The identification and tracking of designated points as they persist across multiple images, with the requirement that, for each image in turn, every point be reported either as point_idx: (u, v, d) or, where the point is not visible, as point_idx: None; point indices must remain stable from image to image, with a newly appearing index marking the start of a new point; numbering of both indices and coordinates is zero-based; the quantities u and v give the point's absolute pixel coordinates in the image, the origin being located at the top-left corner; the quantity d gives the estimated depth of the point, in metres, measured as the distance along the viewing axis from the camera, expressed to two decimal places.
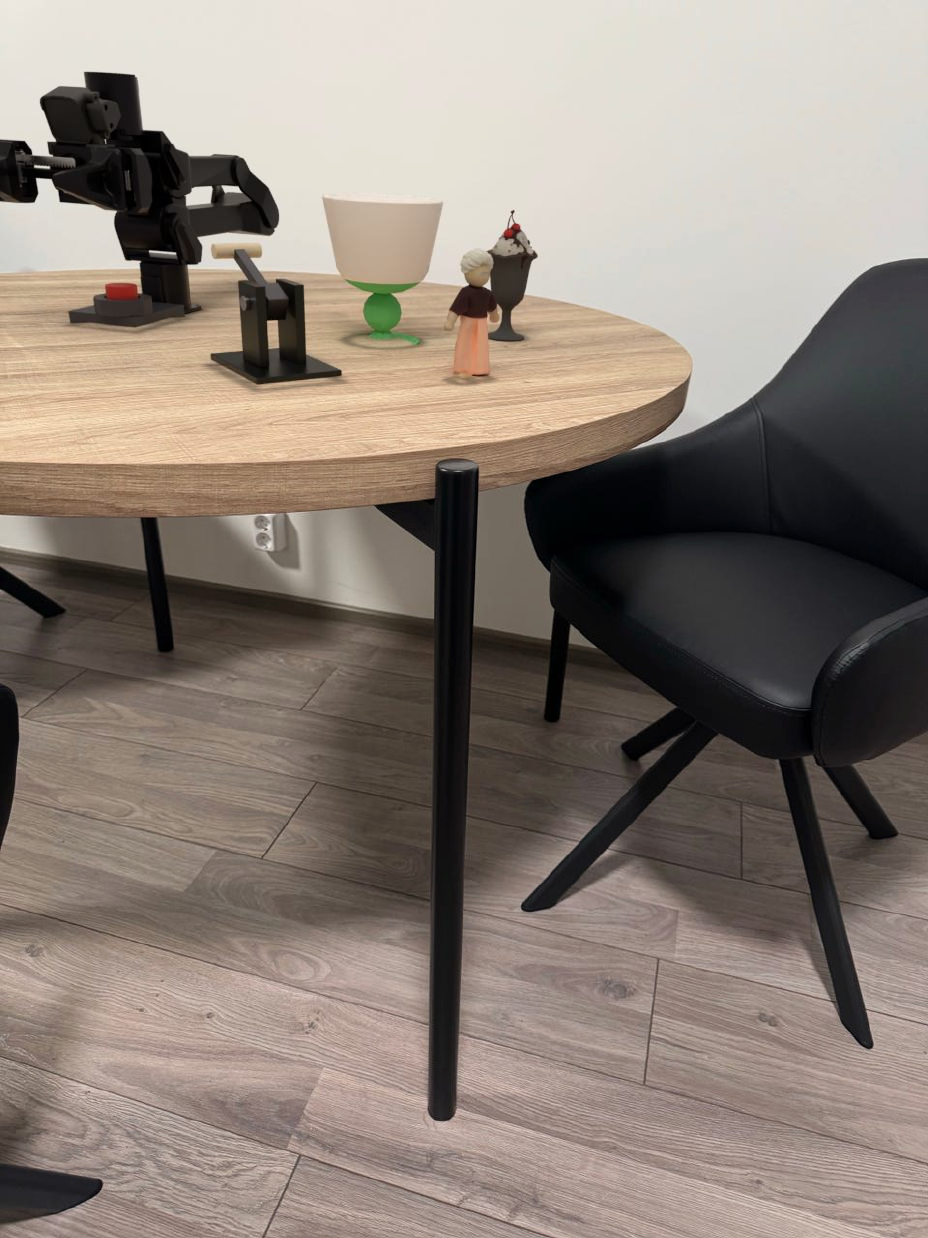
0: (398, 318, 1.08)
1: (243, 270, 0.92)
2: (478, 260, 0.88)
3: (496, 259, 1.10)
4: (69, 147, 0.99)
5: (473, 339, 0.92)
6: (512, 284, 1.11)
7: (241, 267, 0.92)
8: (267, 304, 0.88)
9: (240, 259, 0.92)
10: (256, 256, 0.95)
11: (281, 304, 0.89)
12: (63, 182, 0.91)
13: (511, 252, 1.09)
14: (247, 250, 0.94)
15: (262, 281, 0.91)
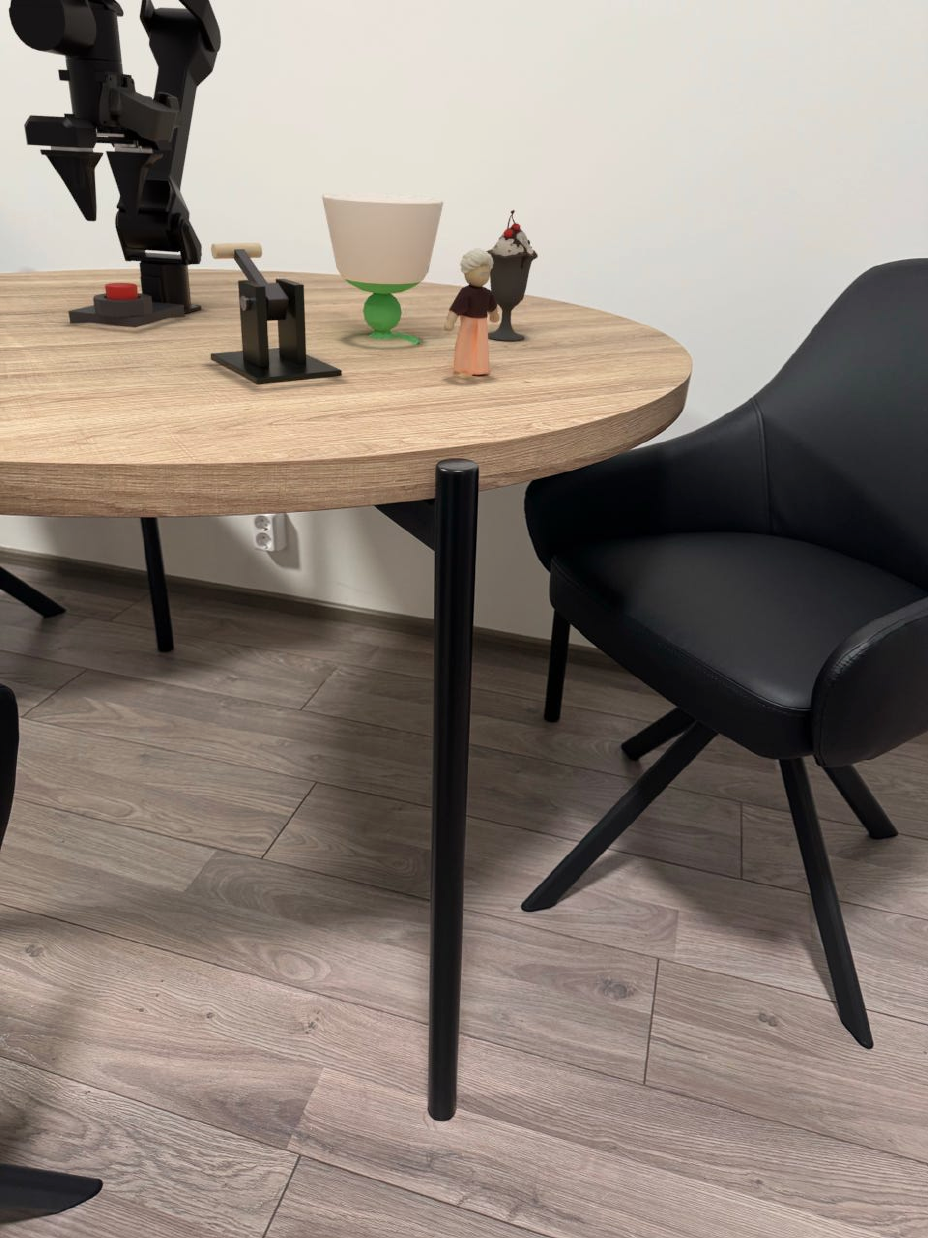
0: (398, 318, 1.08)
1: (243, 270, 0.92)
2: (478, 260, 0.88)
3: (496, 259, 1.10)
4: (122, 126, 1.00)
5: (473, 339, 0.92)
6: (512, 284, 1.11)
7: (241, 267, 0.92)
8: (267, 304, 0.88)
9: (240, 259, 0.92)
10: (256, 256, 0.95)
11: (281, 304, 0.89)
12: None
13: (511, 252, 1.09)
14: (247, 250, 0.94)
15: (262, 281, 0.91)
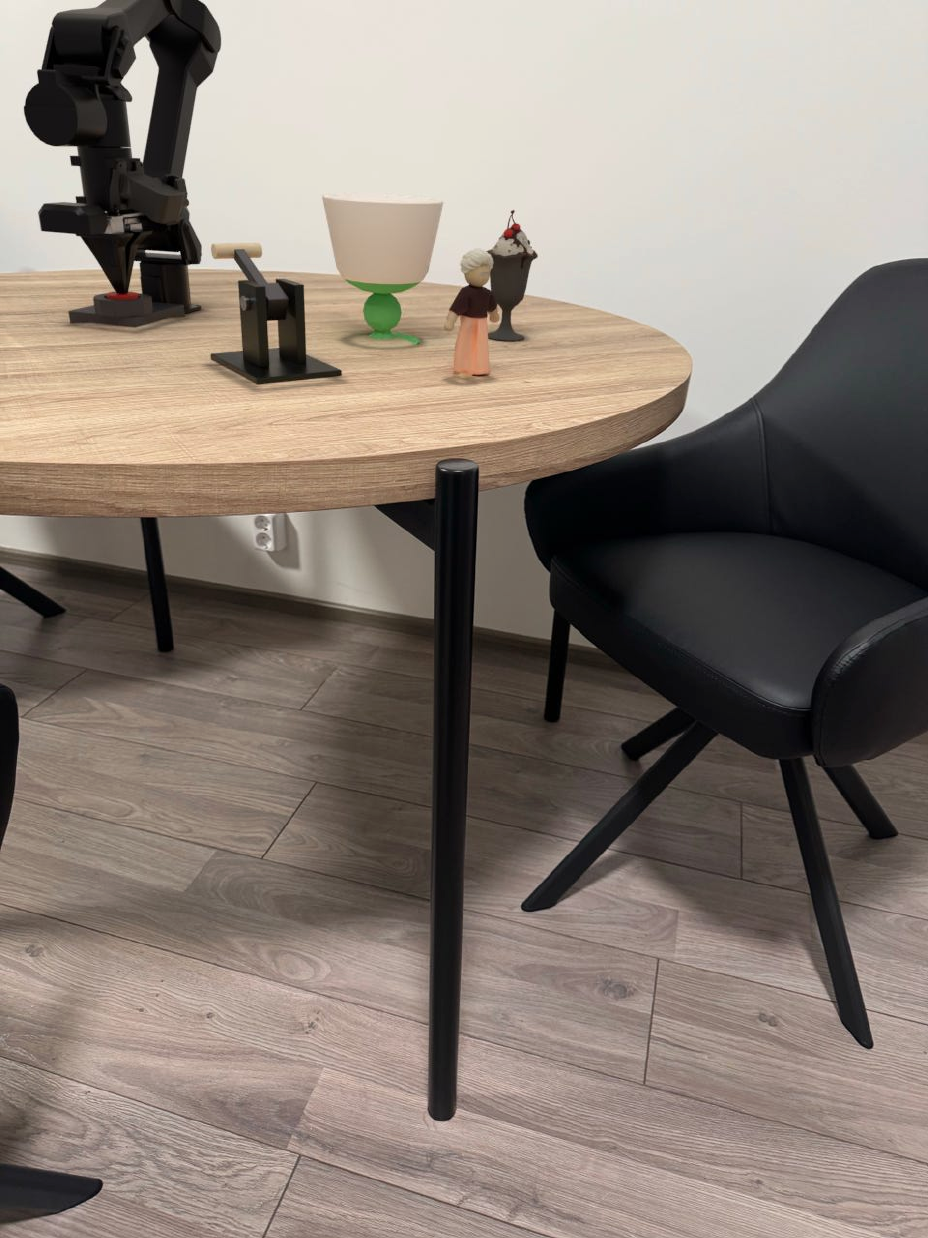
0: (398, 318, 1.08)
1: (243, 270, 0.92)
2: (478, 260, 0.88)
3: (496, 259, 1.10)
4: (131, 208, 1.04)
5: (473, 339, 0.92)
6: (512, 284, 1.11)
7: (241, 267, 0.92)
8: (267, 304, 0.88)
9: (240, 259, 0.92)
10: (256, 256, 0.95)
11: (281, 304, 0.89)
12: None
13: (511, 252, 1.09)
14: (247, 250, 0.94)
15: (262, 281, 0.91)
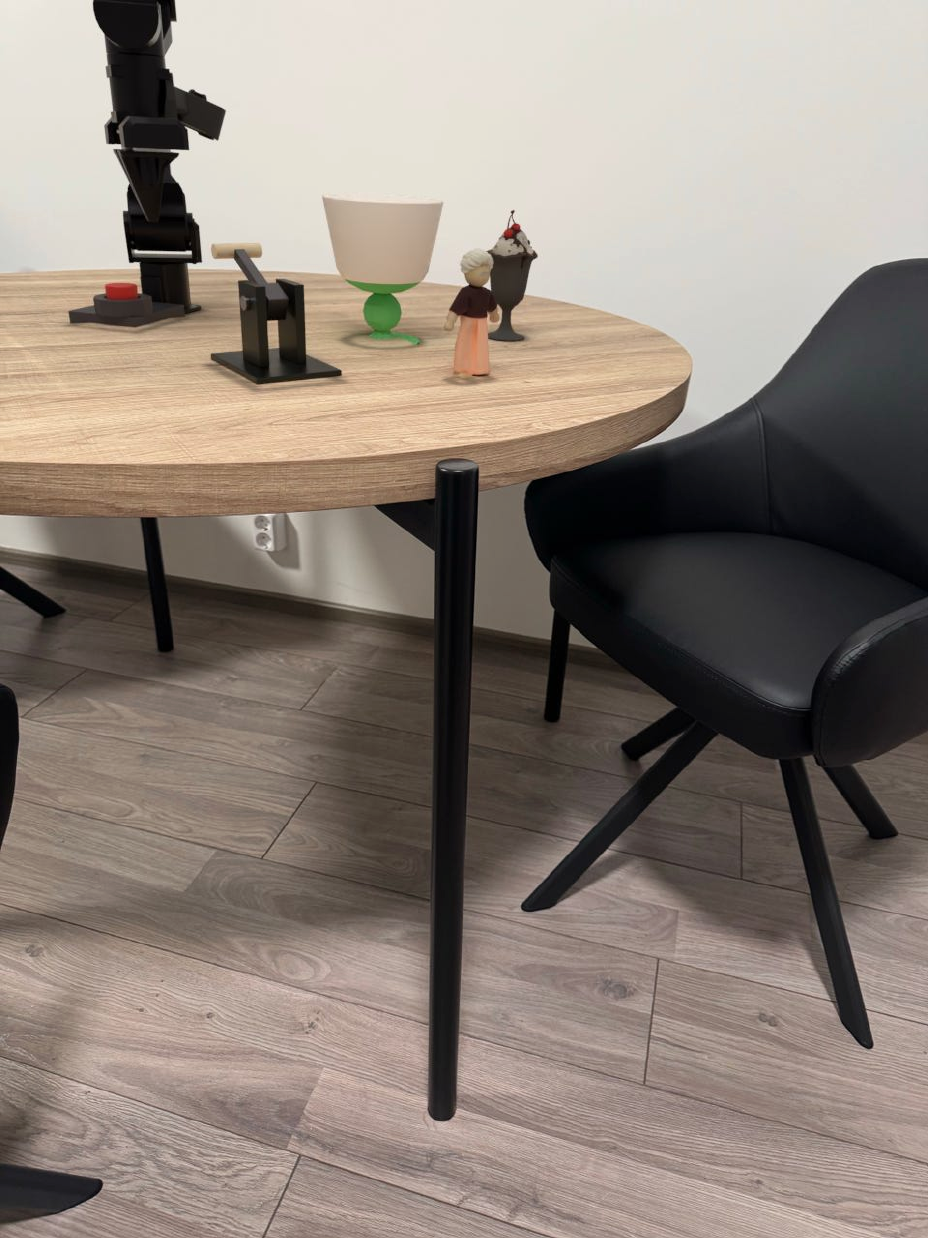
0: (398, 318, 1.08)
1: (243, 270, 0.92)
2: (478, 260, 0.88)
3: (496, 259, 1.10)
4: None
5: (473, 339, 0.92)
6: (512, 284, 1.11)
7: (241, 267, 0.92)
8: (267, 304, 0.88)
9: (240, 259, 0.92)
10: (256, 256, 0.95)
11: (281, 304, 0.89)
12: None
13: (511, 252, 1.09)
14: (247, 250, 0.94)
15: (262, 281, 0.91)
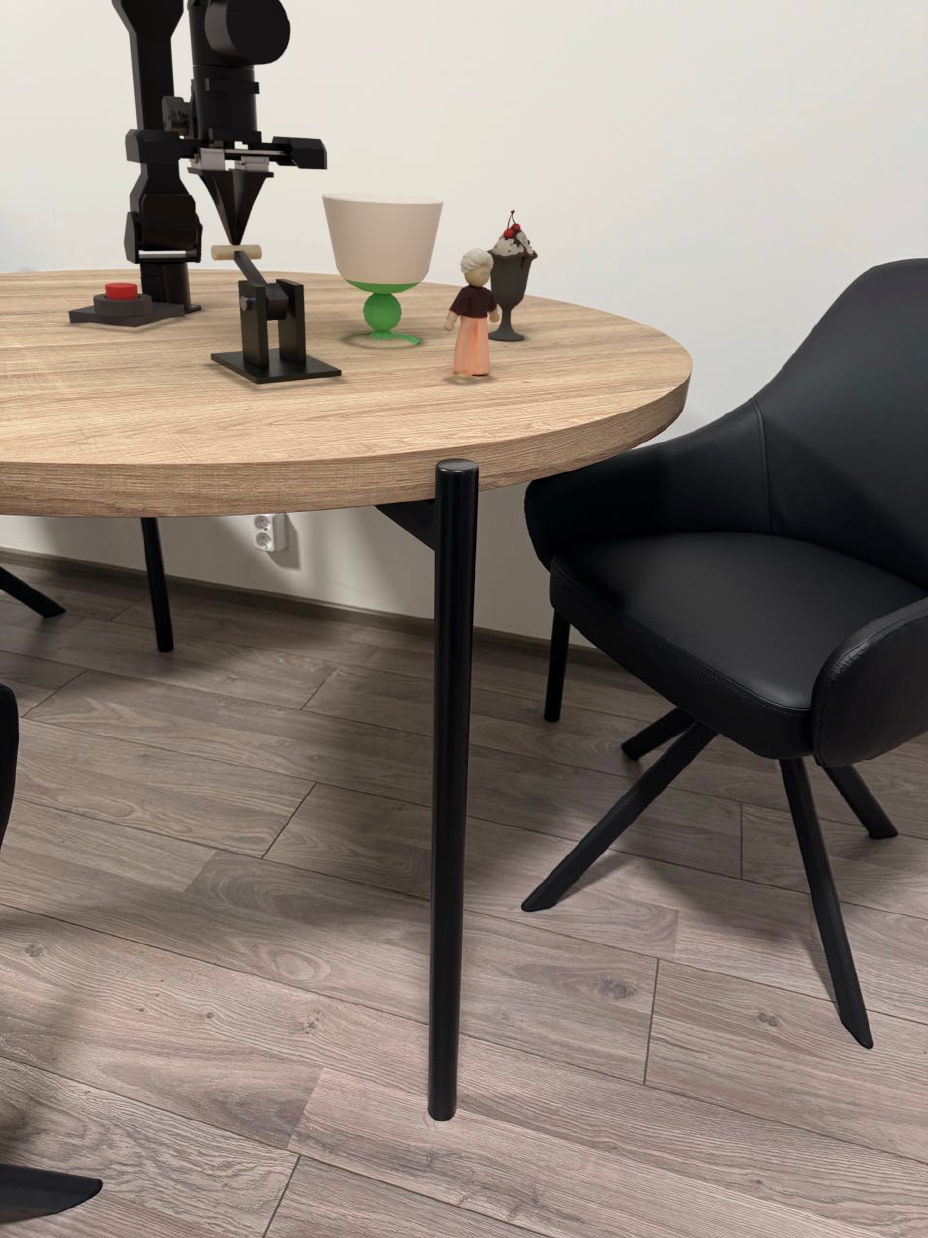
0: (398, 318, 1.08)
1: (243, 271, 0.92)
2: (478, 260, 0.88)
3: (496, 259, 1.10)
4: None
5: (473, 339, 0.92)
6: (512, 284, 1.11)
7: (241, 268, 0.92)
8: (267, 304, 0.88)
9: (240, 260, 0.92)
10: (256, 257, 0.95)
11: (281, 304, 0.89)
12: (229, 236, 0.93)
13: (511, 252, 1.09)
14: (247, 251, 0.94)
15: (262, 281, 0.91)
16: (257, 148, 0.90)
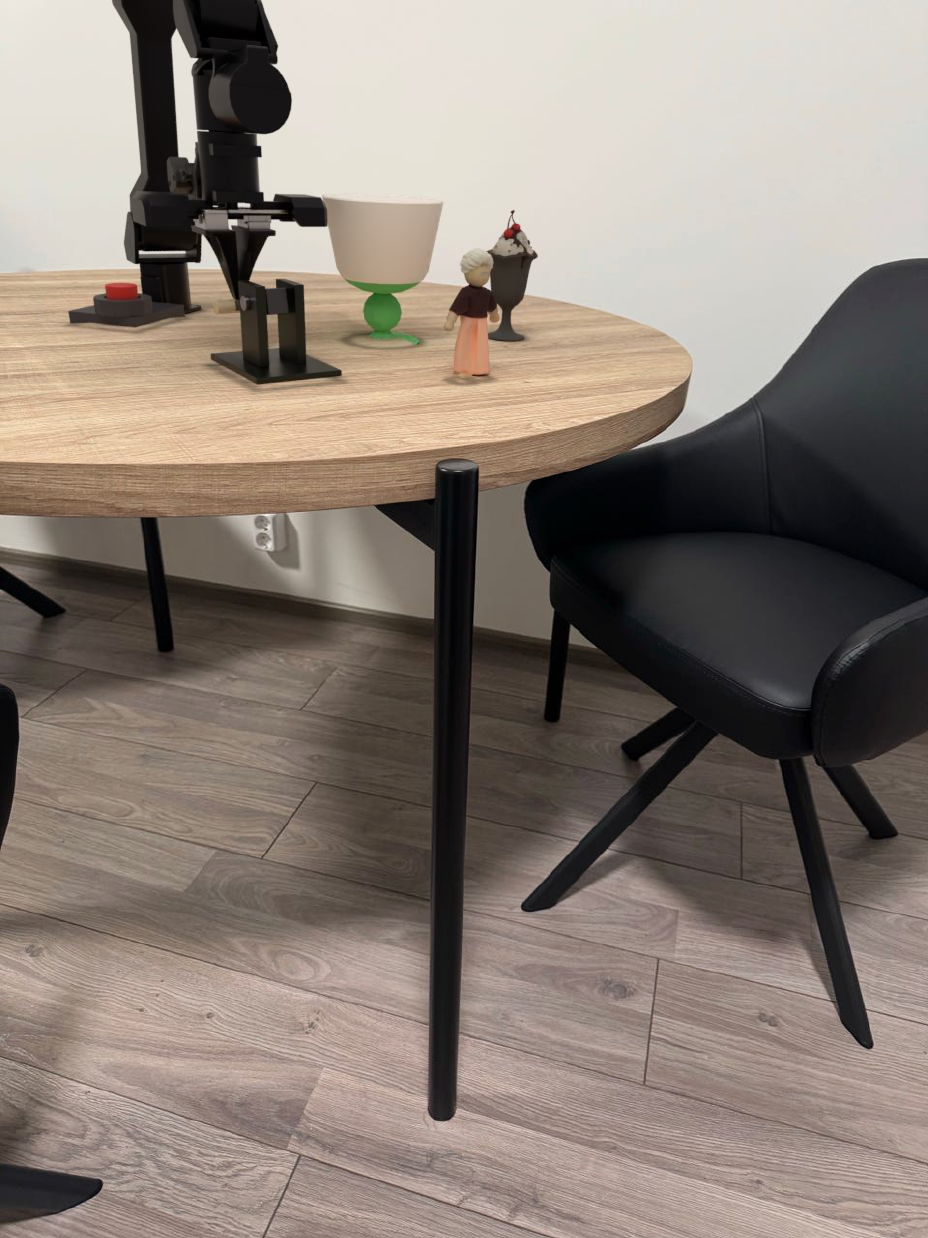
0: (398, 318, 1.08)
1: None
2: (478, 260, 0.88)
3: (496, 259, 1.10)
4: None
5: (473, 339, 0.92)
6: (512, 284, 1.11)
7: None
8: None
9: None
10: None
11: (279, 294, 0.89)
12: (232, 291, 0.96)
13: (511, 252, 1.09)
14: None
15: None
16: (259, 207, 0.93)
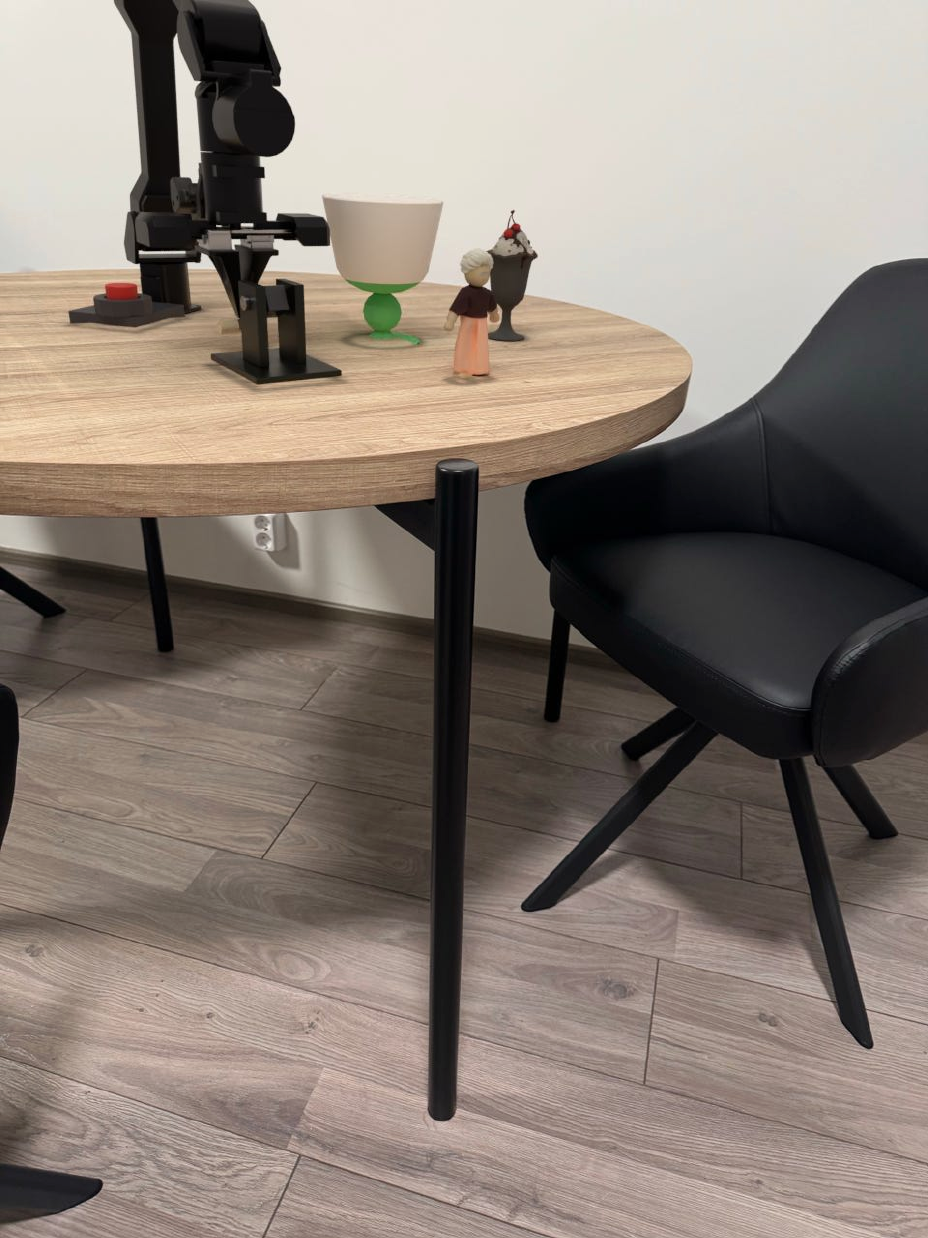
0: (398, 318, 1.08)
1: None
2: (478, 260, 0.88)
3: (496, 259, 1.10)
4: None
5: (473, 339, 0.92)
6: (512, 284, 1.11)
7: None
8: None
9: None
10: None
11: (278, 291, 0.89)
12: (235, 310, 0.96)
13: (511, 252, 1.09)
14: None
15: None
16: (262, 227, 0.94)
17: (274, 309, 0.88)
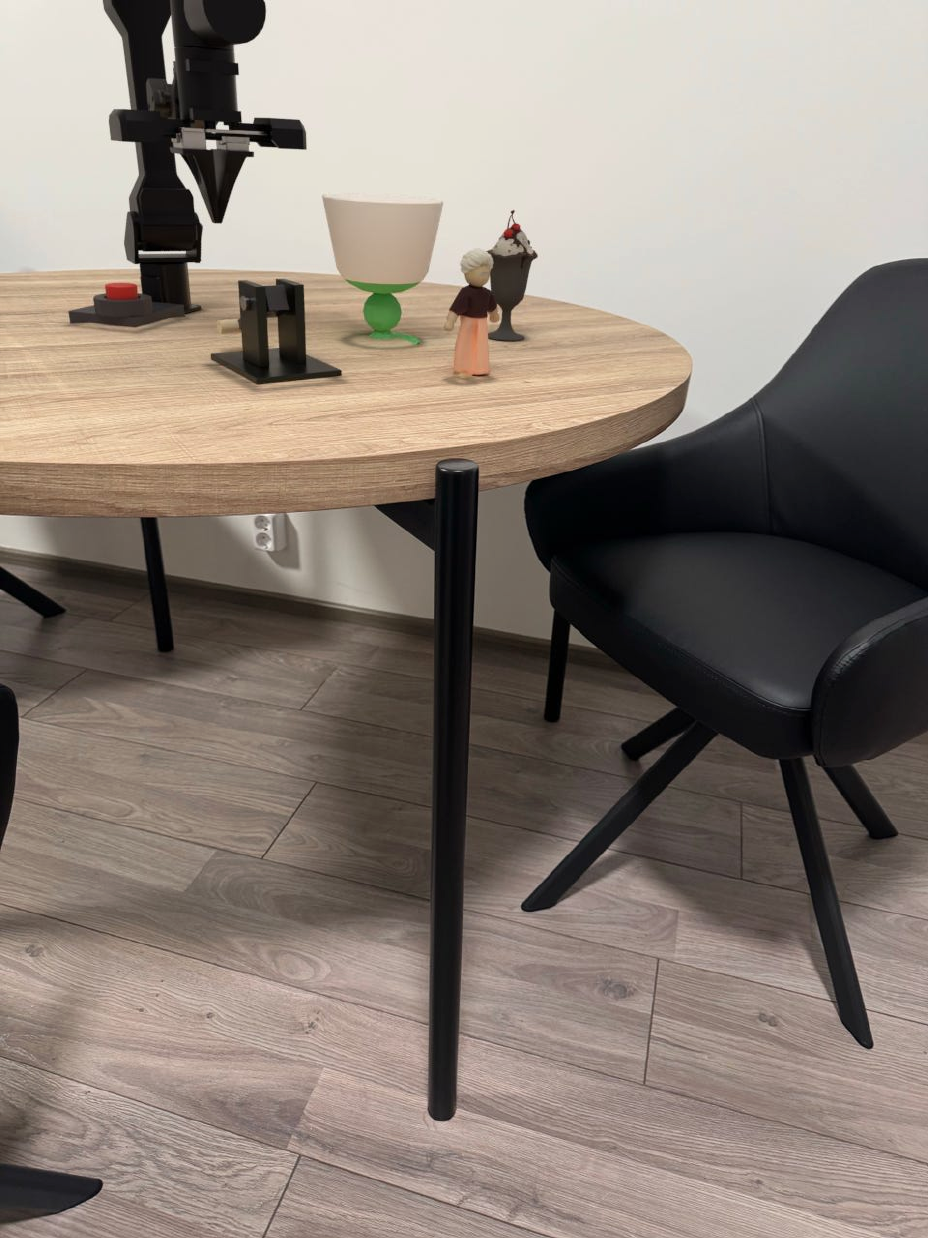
0: (398, 318, 1.08)
1: None
2: (478, 260, 0.88)
3: (496, 259, 1.10)
4: None
5: (473, 339, 0.92)
6: (512, 284, 1.11)
7: None
8: None
9: None
10: None
11: (278, 291, 0.89)
12: (211, 215, 0.96)
13: (511, 252, 1.09)
14: None
15: None
16: (238, 128, 0.93)
17: (274, 309, 0.88)
